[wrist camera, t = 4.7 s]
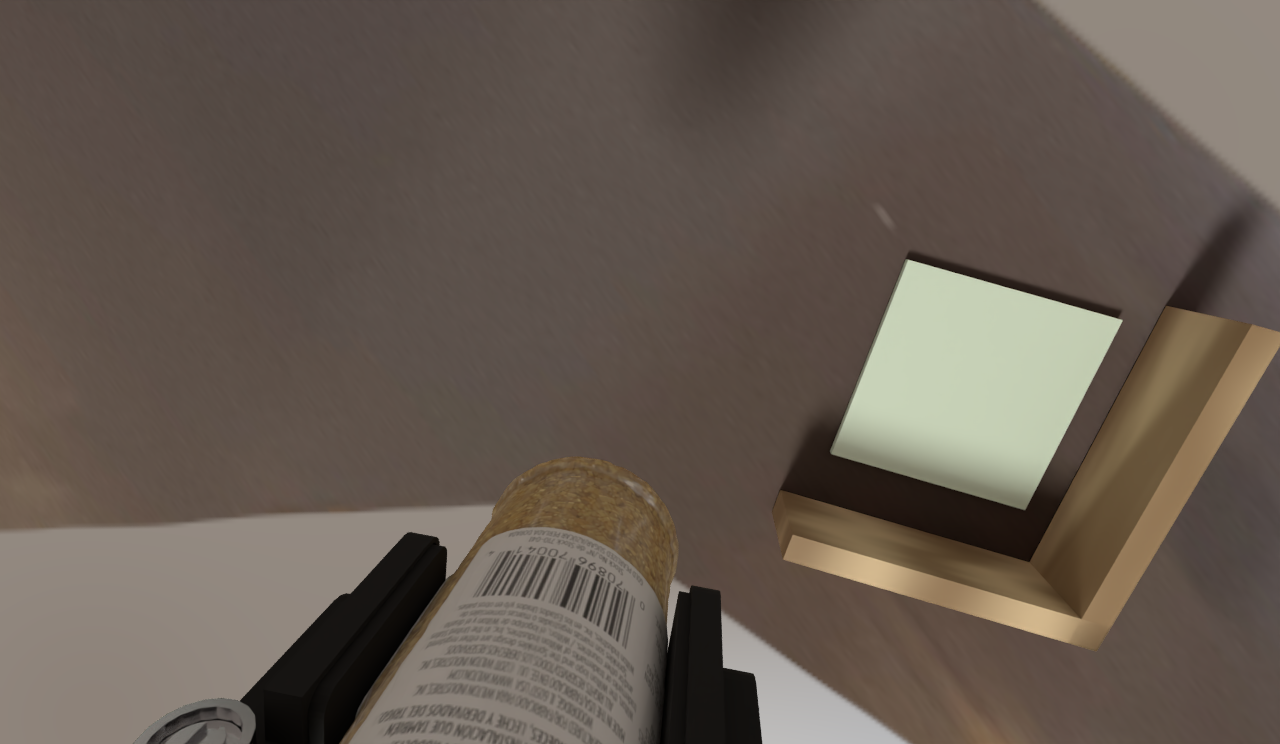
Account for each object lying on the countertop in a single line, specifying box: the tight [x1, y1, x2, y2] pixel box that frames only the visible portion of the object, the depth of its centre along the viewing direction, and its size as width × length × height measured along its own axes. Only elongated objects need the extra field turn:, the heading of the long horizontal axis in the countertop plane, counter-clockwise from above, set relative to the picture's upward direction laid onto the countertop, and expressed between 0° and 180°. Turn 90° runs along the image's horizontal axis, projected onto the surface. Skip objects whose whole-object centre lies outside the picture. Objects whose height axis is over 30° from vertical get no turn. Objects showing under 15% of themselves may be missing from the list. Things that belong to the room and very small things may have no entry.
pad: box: [830, 259, 1123, 510], centre depth 26 cm, size 9×9×1 cm
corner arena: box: [772, 306, 1280, 651], centre depth 25 cm, size 13×14×4 cm
